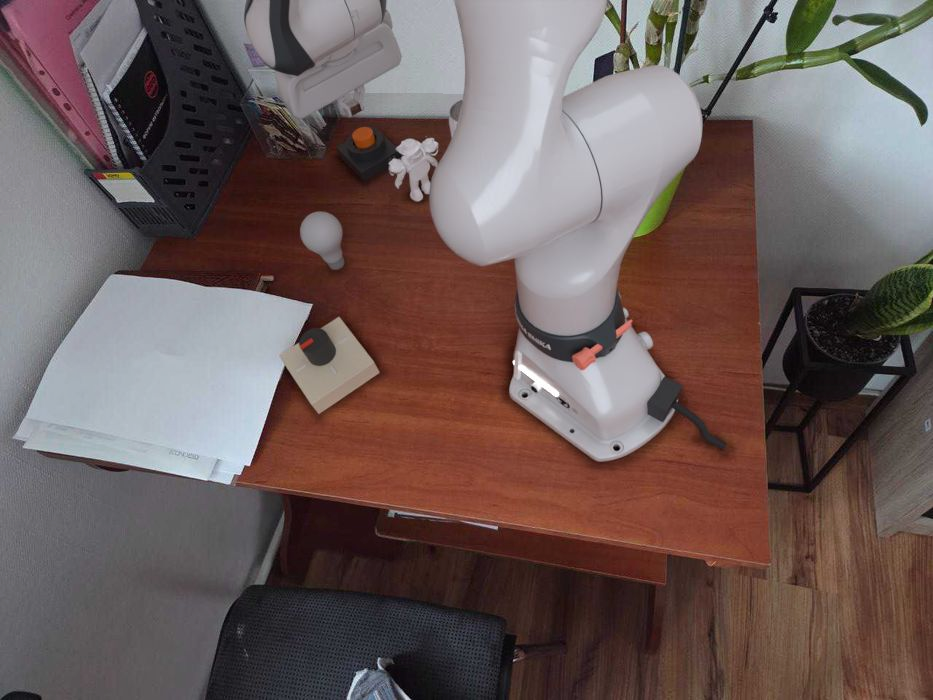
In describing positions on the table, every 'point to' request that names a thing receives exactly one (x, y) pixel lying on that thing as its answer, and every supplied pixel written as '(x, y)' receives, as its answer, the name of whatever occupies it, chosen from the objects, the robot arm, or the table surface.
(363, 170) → the black button housing
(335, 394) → the timer panel
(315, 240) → the lightbulb
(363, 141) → the power button
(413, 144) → the white figurine
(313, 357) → the timer knob
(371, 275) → the table surface
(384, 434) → the table surface
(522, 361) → the robot arm
